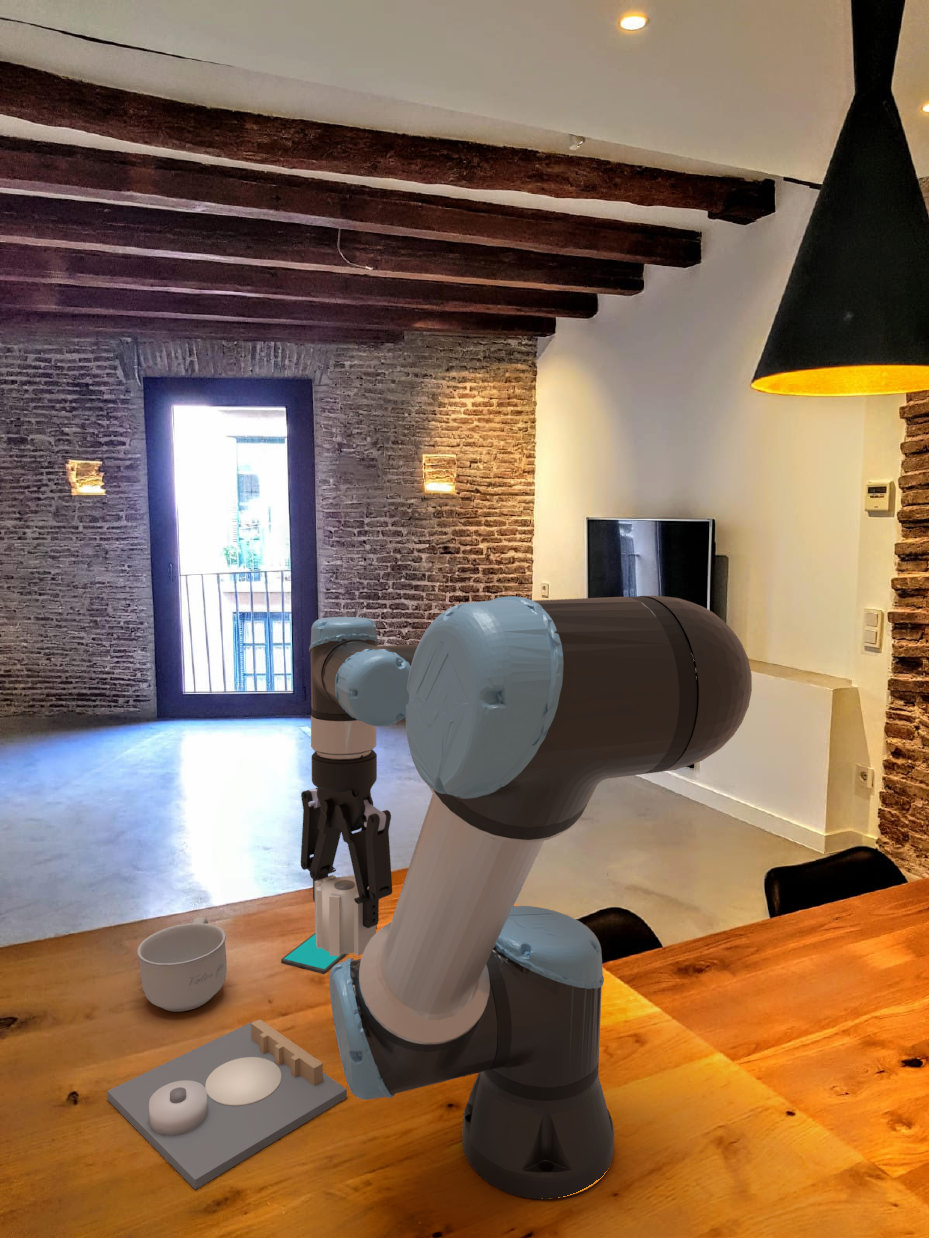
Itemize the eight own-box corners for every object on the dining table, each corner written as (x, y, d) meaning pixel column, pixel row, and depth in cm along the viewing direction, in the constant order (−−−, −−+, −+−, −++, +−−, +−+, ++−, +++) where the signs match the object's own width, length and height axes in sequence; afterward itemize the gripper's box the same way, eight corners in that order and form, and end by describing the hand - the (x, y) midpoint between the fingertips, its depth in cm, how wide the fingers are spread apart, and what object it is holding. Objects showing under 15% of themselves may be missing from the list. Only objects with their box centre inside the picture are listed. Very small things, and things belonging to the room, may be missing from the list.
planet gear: (383, 942, 103) (383, 884, 103) (341, 961, 99) (341, 900, 98) (347, 925, 108) (347, 869, 107) (306, 942, 103) (305, 883, 102)
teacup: (201, 1027, 106) (200, 965, 105) (121, 1016, 108) (119, 955, 107) (251, 970, 120) (250, 914, 119) (179, 961, 122) (178, 906, 121)
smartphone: (280, 959, 122) (336, 915, 136) (280, 965, 122) (336, 920, 136) (325, 971, 119) (378, 925, 133) (325, 977, 119) (378, 930, 133)
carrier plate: (346, 1097, 94) (346, 1066, 93) (195, 1189, 81) (194, 1153, 80) (252, 1029, 106) (252, 1001, 106) (107, 1099, 93) (106, 1068, 92)
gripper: (426, 760, 97) (425, 957, 99) (318, 731, 110) (319, 905, 113) (375, 773, 91) (375, 981, 94) (268, 741, 105) (270, 924, 107)
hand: (345, 939), depth 103 cm, fingers closed on planet gear, 7 cm apart
